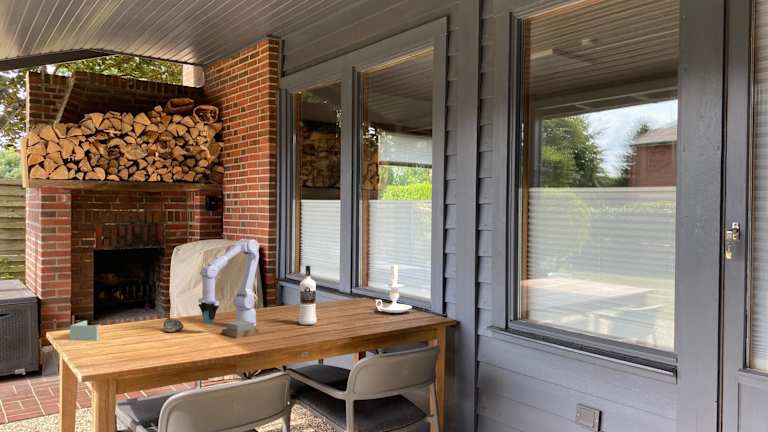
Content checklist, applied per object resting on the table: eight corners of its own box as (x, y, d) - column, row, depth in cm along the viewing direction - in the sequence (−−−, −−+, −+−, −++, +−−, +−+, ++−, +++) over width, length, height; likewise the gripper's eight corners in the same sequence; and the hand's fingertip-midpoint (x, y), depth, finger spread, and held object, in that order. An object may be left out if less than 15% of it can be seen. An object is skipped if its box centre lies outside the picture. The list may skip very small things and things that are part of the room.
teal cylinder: (210, 320, 280) (210, 310, 280) (215, 322, 277) (215, 311, 276) (201, 322, 276) (201, 311, 276) (207, 323, 273) (207, 313, 273)
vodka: (318, 321, 304) (318, 264, 304) (314, 325, 295) (314, 266, 295) (301, 321, 305) (301, 264, 305) (296, 324, 296) (297, 266, 296)
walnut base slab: (243, 331, 282) (243, 325, 282) (258, 335, 274) (258, 329, 274) (221, 335, 273) (221, 329, 273) (236, 339, 265) (236, 333, 265)
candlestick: (363, 312, 333) (364, 263, 333) (395, 307, 349) (395, 261, 349) (387, 317, 318) (387, 266, 317) (419, 312, 334) (419, 264, 334)
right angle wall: (96, 343, 254) (96, 326, 254) (69, 342, 254) (69, 325, 254) (110, 337, 266) (110, 320, 266) (84, 336, 266) (84, 320, 266)
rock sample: (159, 324, 270) (168, 310, 277) (156, 333, 275) (165, 319, 282) (179, 334, 272) (188, 320, 278) (176, 342, 276) (185, 328, 283)
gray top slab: (243, 326, 280) (243, 320, 280) (254, 329, 274) (254, 322, 273) (226, 329, 273) (227, 322, 273) (237, 331, 267) (237, 325, 267)
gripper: (192, 290, 278) (192, 318, 278) (209, 293, 268) (209, 322, 268) (205, 288, 283) (205, 316, 283) (222, 291, 274) (222, 320, 274)
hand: (208, 319), depth 276 cm, fingers closed on teal cylinder, 5 cm apart
